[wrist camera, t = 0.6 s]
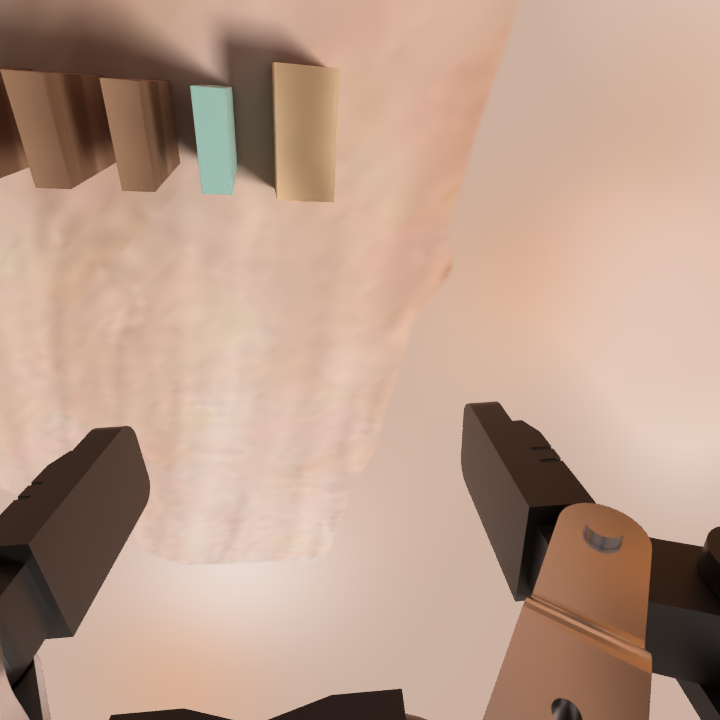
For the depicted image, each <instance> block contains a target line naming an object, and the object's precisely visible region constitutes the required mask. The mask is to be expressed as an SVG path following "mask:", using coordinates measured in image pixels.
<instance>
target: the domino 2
mask: <svg viewBox="0 0 720 720" xmlns="http://www.w3.org/2000/svg"><path fill="white" fill-rule="evenodd" d="M0 71H1V74H2V77H3V80H4V84H5V87H6V90H7V94H8V97H9V100H10V104H11V107H12V110H13V114H14V117H15V120H16V124H17V127H18V130H19V134H20V137H21V140H22V144H23V147H24V150H25V153H26V157H27V160H28V163H29V167H30V170H31V173H32V177H33V180H34V183H35V187H36V188H58V189H72V188H74V187H75V186H77V185H79V184H80V183H82V182H84V181H85V180H87V179H89V178H90V177H92V176H94V175H95V174H97V173H99V172H101V171H102V170H104V169H106V168H107V167H109V166H111V165H112V164H114V163H116V157H115V152H114V147H113V143H112V138H111V133H110V128H109V123H108V118H107V113H106V108H105V103H104V98H103V93H102V88H101V83H100V78H103V75H93V74H81V73H65V72H45V71H25V70H6V69H0Z"/></svg>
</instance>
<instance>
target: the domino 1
mask: <svg viewBox="0 0 720 720" xmlns="http://www.w3.org/2000/svg"><path fill="white" fill-rule="evenodd" d="M0 69H6V70H25V71H33V70H32V69H23V68H11V67H0ZM28 167H29V163H28V160H27V157H26V153H25V150H24V147H23V144H22V140H21V137H20V134H19V130H18V127H17V124H16V120H15V117H14V114H13V110H12V107H11V104H10V100H9V97H8V94H7V90H6V87H5V84H4V80H3V77H2V74H1V71H0V178H2V177H4V176H7V175H10V174H12V173H15V172H18V171H20V170H23V169H25V168H28Z"/></svg>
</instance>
